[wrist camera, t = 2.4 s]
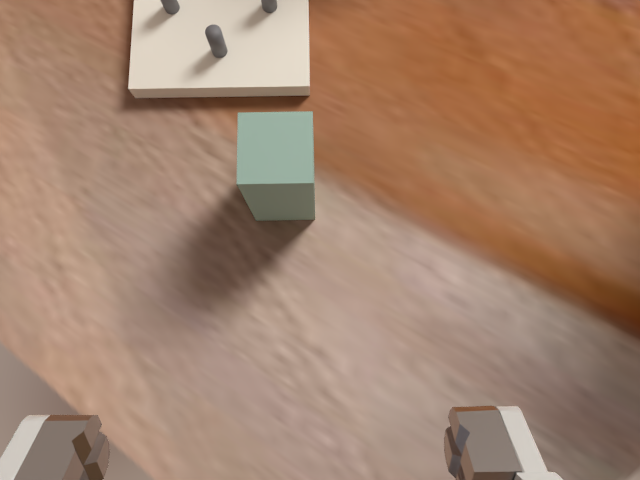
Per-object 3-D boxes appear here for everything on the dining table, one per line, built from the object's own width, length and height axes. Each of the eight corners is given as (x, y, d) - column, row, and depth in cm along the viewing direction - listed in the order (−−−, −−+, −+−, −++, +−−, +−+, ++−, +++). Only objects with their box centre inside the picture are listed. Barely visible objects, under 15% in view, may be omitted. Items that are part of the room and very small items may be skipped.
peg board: (307, -55, 43) (306, -95, 39) (310, 95, 40) (308, 68, 36) (144, -53, 42) (126, -93, 39) (135, 98, 40) (115, 71, 36)
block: (314, 163, 39) (312, 111, 30) (315, 219, 38) (313, 183, 29) (256, 164, 39) (237, 112, 30) (255, 220, 38) (236, 184, 29)
